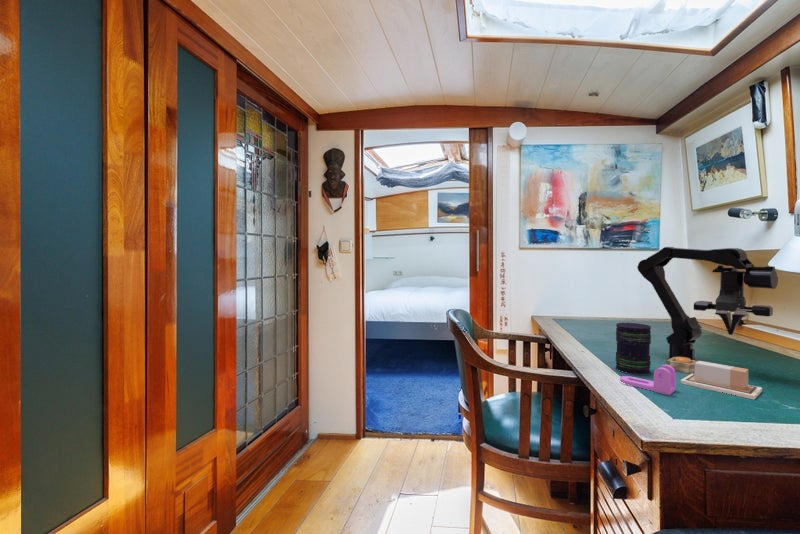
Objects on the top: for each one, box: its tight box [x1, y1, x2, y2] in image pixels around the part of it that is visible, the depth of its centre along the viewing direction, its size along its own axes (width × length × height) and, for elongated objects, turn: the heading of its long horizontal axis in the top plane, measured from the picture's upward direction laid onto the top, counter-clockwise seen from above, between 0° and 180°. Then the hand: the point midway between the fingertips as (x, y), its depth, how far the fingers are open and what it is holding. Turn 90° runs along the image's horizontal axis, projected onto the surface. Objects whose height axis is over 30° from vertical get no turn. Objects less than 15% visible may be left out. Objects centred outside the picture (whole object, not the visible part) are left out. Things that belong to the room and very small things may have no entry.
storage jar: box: [615, 322, 652, 375], centre depth 123 cm, size 10×10×15 cm
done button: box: [675, 357, 691, 364], centre depth 124 cm, size 4×4×3 cm
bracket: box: [619, 364, 677, 396], centre depth 108 cm, size 13×6×7 cm, turn 40°
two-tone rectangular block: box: [694, 360, 750, 391], centre depth 107 cm, size 11×4×5 cm, turn 38°
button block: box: [666, 357, 699, 375], centre depth 124 cm, size 7×7×3 cm
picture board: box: [680, 374, 763, 401], centre depth 107 cm, size 16×10×1 cm, turn 38°
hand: (730, 334), depth 122 cm, fingers closed
